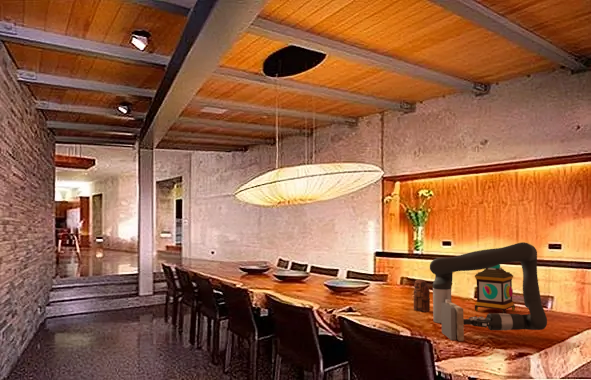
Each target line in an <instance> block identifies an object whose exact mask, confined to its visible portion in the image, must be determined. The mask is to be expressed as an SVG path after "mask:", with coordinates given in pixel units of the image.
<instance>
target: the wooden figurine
mask: <svg viewBox="0 0 591 380" xmlns="http://www.w3.org/2000/svg"><path fill="white" fill-rule="evenodd" d="M413 286H414V287H413V288H414V289H413V310H414V311H417V312H423V313H429V312H430V310H431V309H430V308H431V307H430V306H431V303H430V302H431V300H430V299H431V297H430V295H431V293H430V287H429V285H428V283H427V281H425V280H424V279H417V280H415V281H414V285H413Z"/></svg>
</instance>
